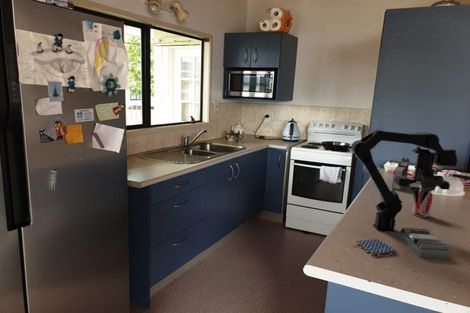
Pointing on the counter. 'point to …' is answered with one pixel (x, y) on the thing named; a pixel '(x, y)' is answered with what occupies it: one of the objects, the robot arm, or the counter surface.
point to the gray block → (425, 238)
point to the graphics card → (400, 172)
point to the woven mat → (376, 248)
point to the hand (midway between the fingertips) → (418, 203)
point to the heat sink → (424, 244)
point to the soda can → (423, 206)
